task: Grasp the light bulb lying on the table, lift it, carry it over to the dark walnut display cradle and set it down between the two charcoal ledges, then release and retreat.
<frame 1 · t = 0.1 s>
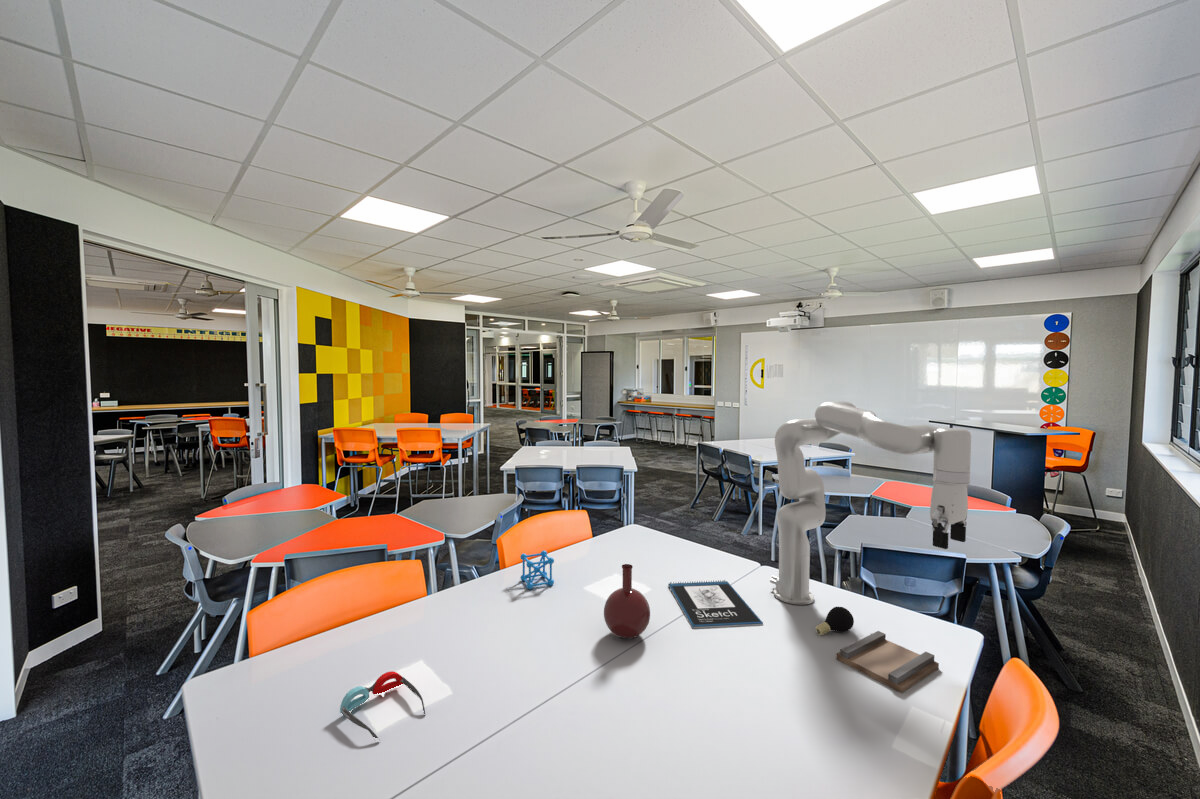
hand: (949, 543, 122), 31 cm above the table, tool pointing down, fingers open, 9 cm apart
round-bottom flask: (626, 636, 136), on the table
display cradle: (886, 663, 123), on the table
light bulb: (832, 631, 139), on the table
sketchbook: (711, 605, 156), on the table
novelty glasses: (385, 716, 104), on the table
molecular structure: (537, 583, 172), on the table
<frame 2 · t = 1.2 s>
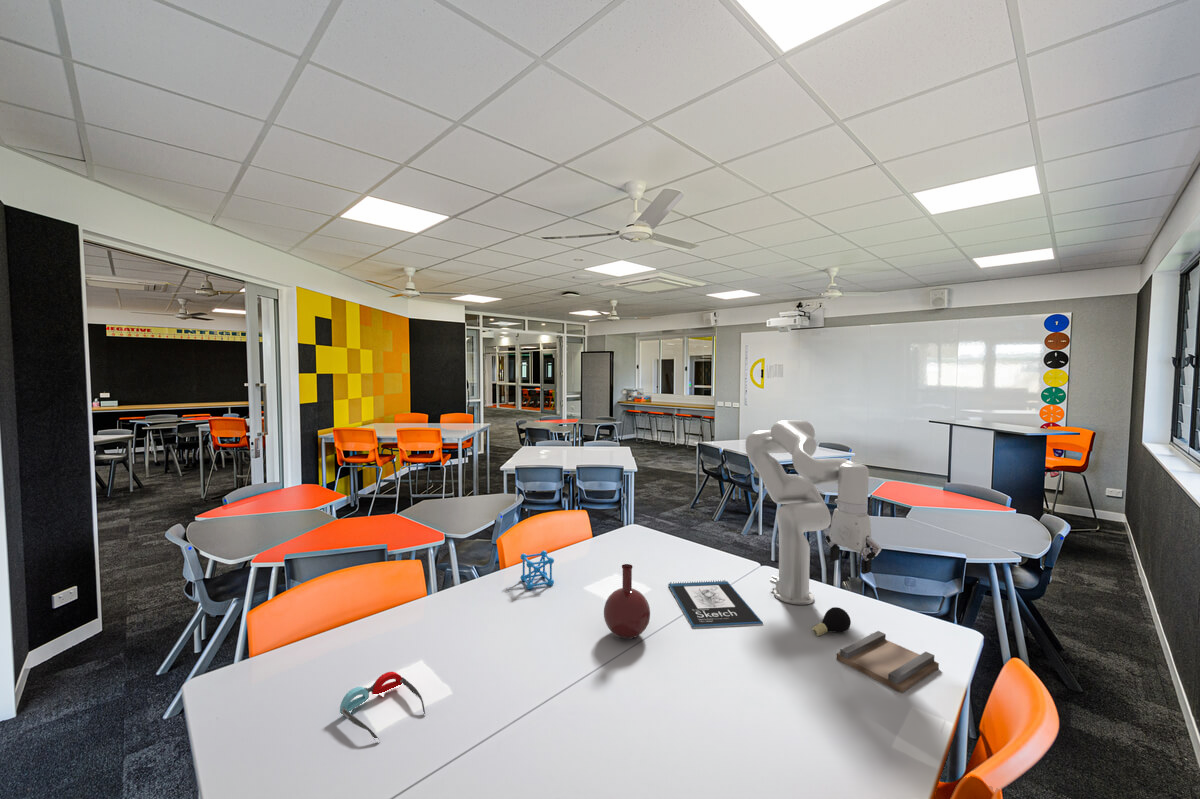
hand: (849, 566, 136), 20 cm above the table, tool pointing down, fingers open, 9 cm apart
light bulb: (829, 632, 139), on the table
everything else where it was.
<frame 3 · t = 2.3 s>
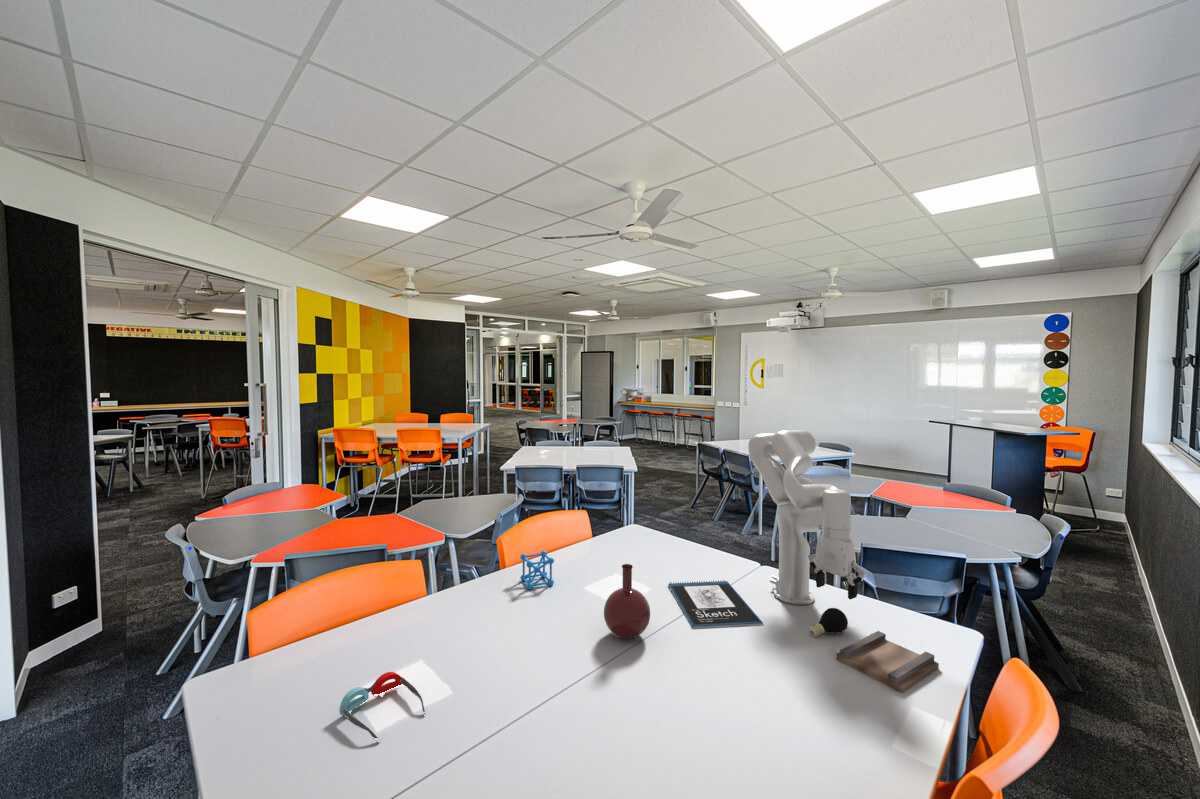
hand: (835, 592, 138), 12 cm above the table, tool pointing down, fingers open, 9 cm apart
light bulb: (826, 633, 138), on the table
everything else where it was.
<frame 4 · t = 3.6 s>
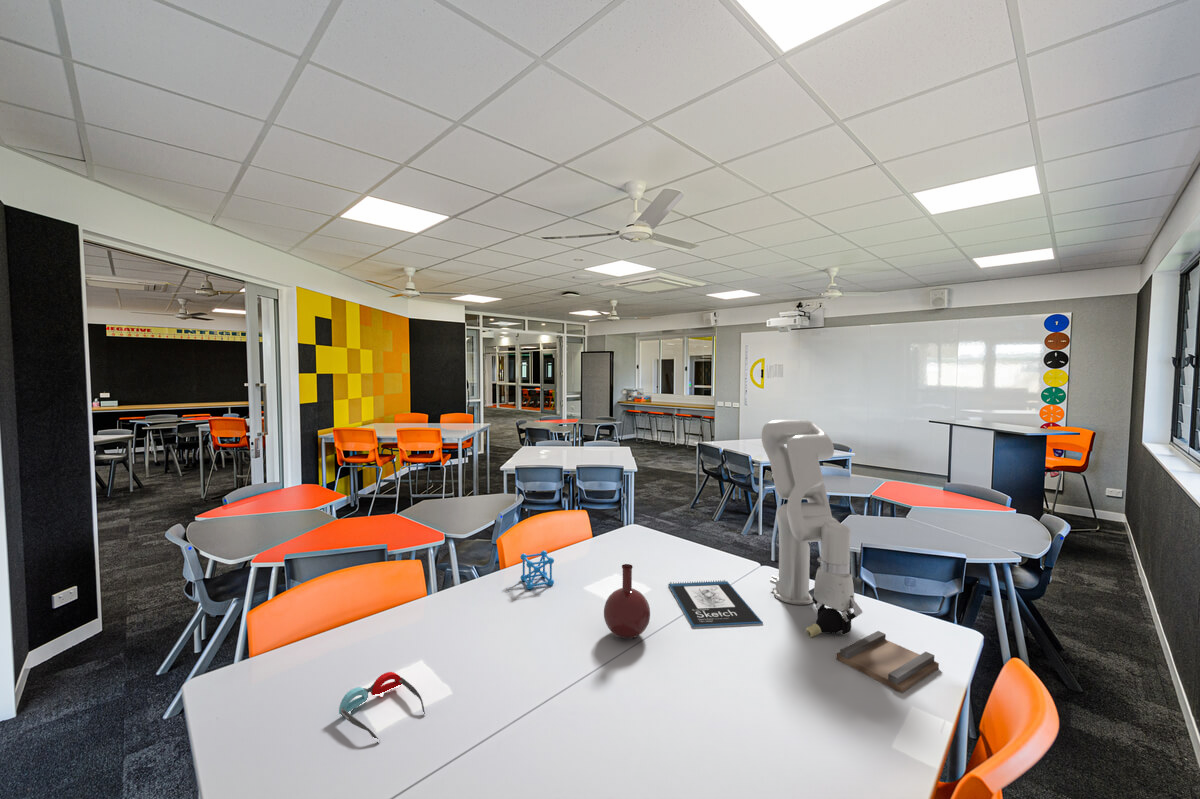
hand: (833, 626, 139), 1 cm above the table, tool pointing down, fingers closed on light bulb, 6 cm apart
light bulb: (823, 633, 138), on the table, touching gripper
everything else where it was.
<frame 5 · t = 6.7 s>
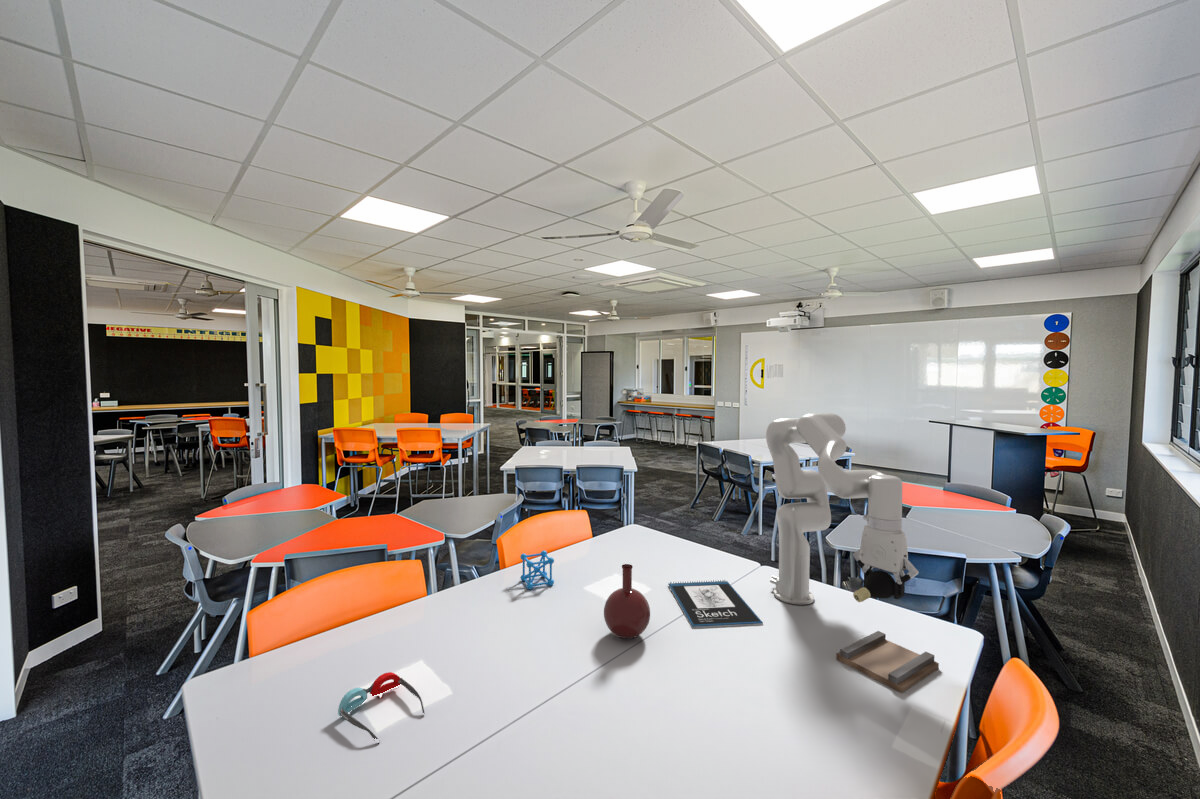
hand: (883, 591, 123), 18 cm above the table, tool pointing down, fingers closed on light bulb, 6 cm apart
light bulb: (871, 598, 122), point 17 cm above the table, touching gripper
everything else where it was.
when the fingers open (5 cm above the table, at t = 9.8 s): light bulb drops 2 cm, point 2 cm above the table.
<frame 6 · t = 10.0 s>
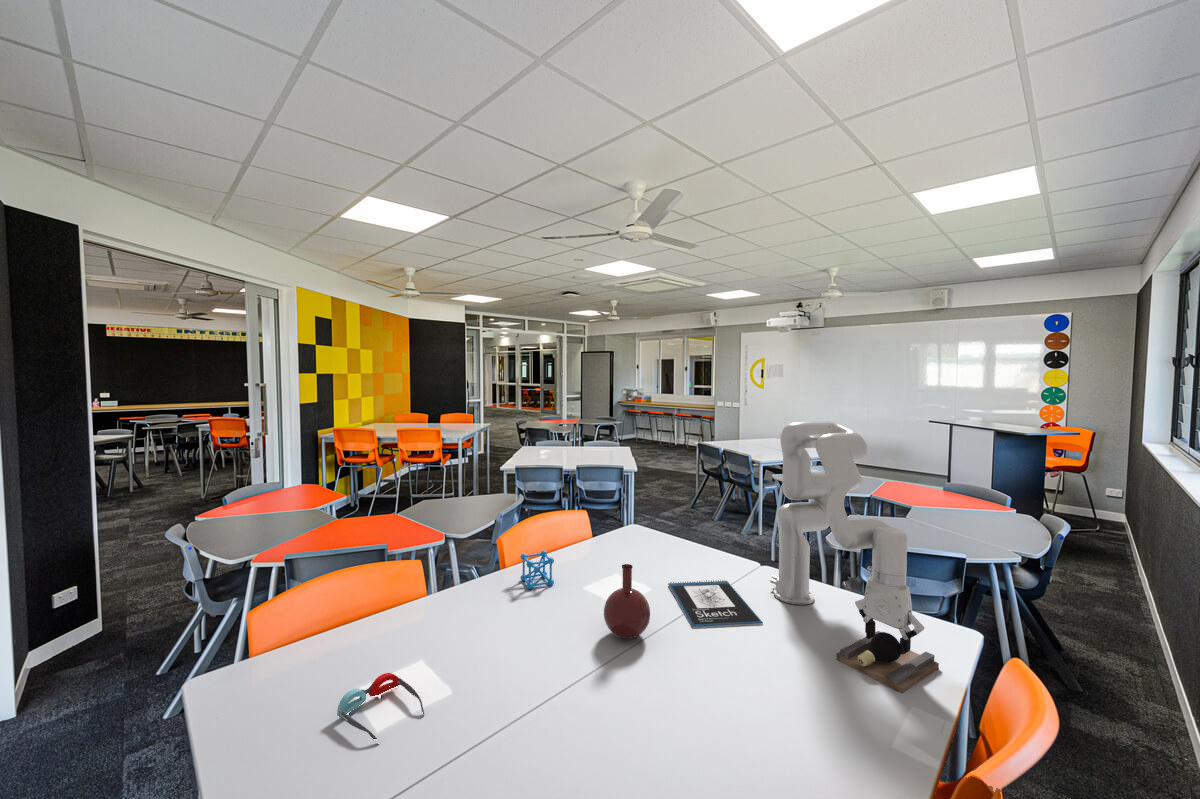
hand: (886, 644, 123), 5 cm above the table, tool pointing down, fingers open, 7 cm apart
light bulb: (875, 660, 122), point 2 cm above the table, touching gripper
everything else where it was.
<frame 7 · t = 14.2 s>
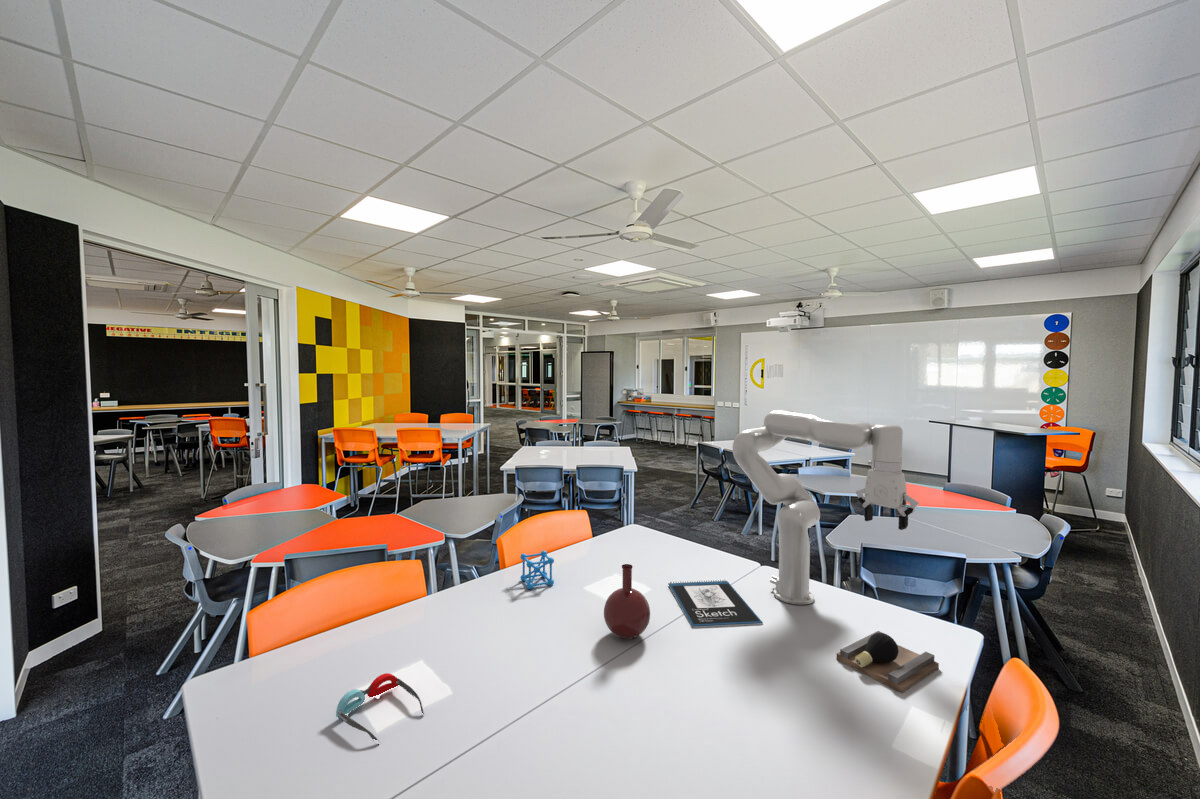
hand: (885, 524, 141), 30 cm above the table, tool pointing down, fingers open, 9 cm apart
light bulb: (873, 662, 121), point 1 cm above the table, touching display cradle
everything else where it was.
at the end: light bulb inside the target area on the display cradle (4.4 cm from its centre), point 1.3 cm above the display cradle's base; light bulb touching display cradle; the gripper is holding nothing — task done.
